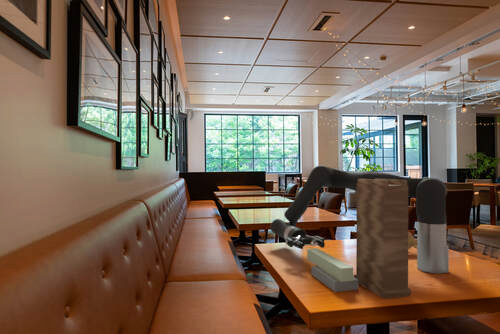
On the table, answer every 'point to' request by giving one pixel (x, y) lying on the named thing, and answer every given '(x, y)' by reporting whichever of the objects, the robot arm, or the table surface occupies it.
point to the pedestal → (382, 237)
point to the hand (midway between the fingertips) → (312, 245)
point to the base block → (333, 280)
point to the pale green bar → (330, 265)
